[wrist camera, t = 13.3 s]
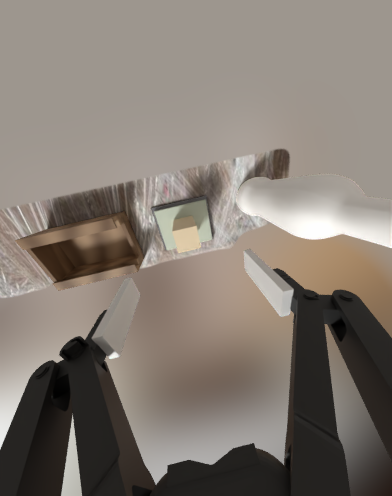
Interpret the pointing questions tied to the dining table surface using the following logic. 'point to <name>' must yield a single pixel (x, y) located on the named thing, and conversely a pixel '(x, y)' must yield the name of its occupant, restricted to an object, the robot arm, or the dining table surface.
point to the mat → (178, 205)
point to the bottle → (318, 207)
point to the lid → (184, 226)
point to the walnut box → (86, 250)
